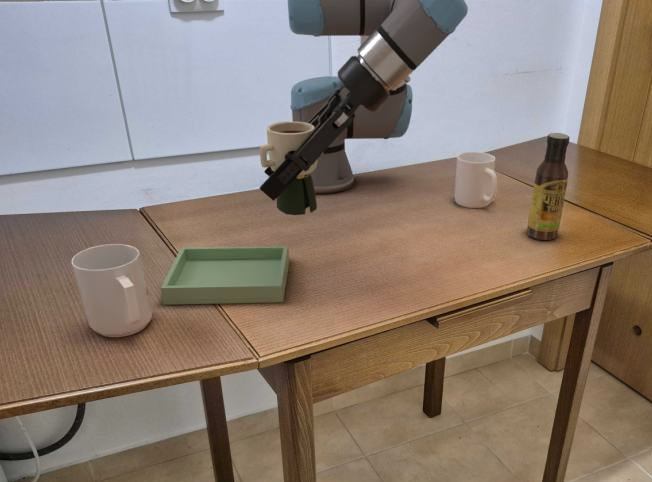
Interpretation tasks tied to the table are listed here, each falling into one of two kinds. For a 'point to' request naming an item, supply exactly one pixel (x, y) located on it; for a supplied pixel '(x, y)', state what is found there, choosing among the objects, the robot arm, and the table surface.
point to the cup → (475, 180)
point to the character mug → (279, 143)
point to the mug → (113, 289)
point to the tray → (227, 275)
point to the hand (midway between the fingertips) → (269, 185)
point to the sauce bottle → (549, 190)
